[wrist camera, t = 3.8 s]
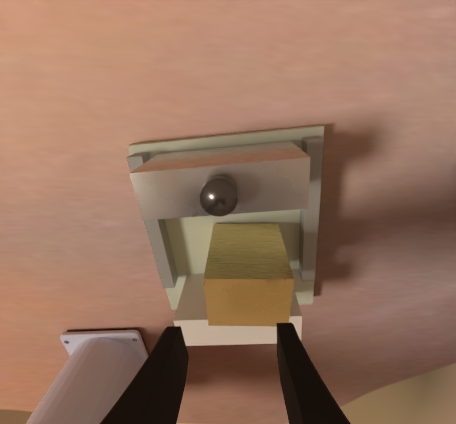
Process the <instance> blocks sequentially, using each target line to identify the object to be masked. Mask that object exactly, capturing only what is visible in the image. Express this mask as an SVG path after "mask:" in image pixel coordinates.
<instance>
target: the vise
mask: <svg viewBox="0 0 456 424" xmlns="http://www.w3.org/2000/svg"><path fill="white" fill-rule="evenodd" d="M285 141H291V142H292V143H294V144H295V145H296V146H297V147H299V148H300V149H301V150H302V151H303V152H305V153H306V154H307V155H308V156H310V179H309V201H308V209H296V210H282V211H268V212H254V213H240V214H228V215H226V216H221V217H218V216H199V217H185V218H171V219H157V220H144V222H145V225H146V229H147V232H148V236H149V240H150V243H151V247H152V250H153V254H154V258H155V261H156V265H157V268H158V272H159V276H160V279H161V283H162V286H163V288H166V290H167V294H168V298H169V301H170V305H171V309H172V310H176V309H177V310H176V313H175V316H174V320H173V322H174V326H181V329H182V333H183V337H184V341H185V345H186V346H203V345H239V344H275V343H277V327H270V326H208V317H207V308H206V299H205V290H204V281H203V278H204V273H205V267H206V262H207V257H208V251H209V246H210V241H211V236H212V230H213V225H214V224H242V223H278V224H279V228H280V232H281V235H282V239H283V242H284V246H285V249H286V253H287V256H288V260H289V263H290V267H291V270H292V274H293V277H294V284H293V292H292V301H291V309H290V318H289V323H292V324H294V327H295V329H296V332H297V334H298V336H299V338H300V340H301V331H302V314H301V311H300V307H299V304H313V294H314V281H315V271H316V255H317V240H318V225H319V210H320V195H321V179H322V164H323V149H324V126H322V125H315V126H305V127H295V128H285V129H274V130H264V131H254V132H244V133H234V134H224V135H214V136H204V137H194V138H184V139H174V140H164V141H154V142H144V143H134V144H130V145H128V146H127V147H128V151H129V154H130V156H129V157H127V161H128V164H129V168H130V171H131V172H132V171H134V170H135V169H137V168H138V167H140V166H141V165H143V164H144V163H146V162H147V161H149V160H150V159H151V158H153V157H154V156H156V155H157V154H159V153H169V152H180V151H190V150H201V149H211V148H222V147H232V146H243V145H253V144H264V143H274V142H285Z"/></svg>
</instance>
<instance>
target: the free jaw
mask: <svg viewBox="0 0 456 424" xmlns="http://www.w3.org/2000/svg"><path fill="white" fill-rule="evenodd" d="M129 174H130V177H131V181H132V185H133V188H134V192H135V195H136V199H137V202H138V206H139V209H140V213H141V217H142V220H143V221H144V220H157V219H171V218H185V217H199V216H218V217H221V216H226V215H228V214H240V213H254V212H268V211H282V210H296V209H308V201H309V179H310V156H308V155H307V154H306V153H305V152H303V151H302V150H301V149H300V148H299V147H297V146H296V145H295V144H294V143H292V142H291V141H285V142H274V143H264V144H253V145H243V146H232V147H222V148H211V149H201V150H190V151H180V152H169V153H159V154H157V155H156V156H154V157H153V158H151V159H150V160H149V161H147V162H146V163H144V164H143V165H141V166H140V167H138V168H137V169H135V170H134V171H132V172H131V173H129Z"/></svg>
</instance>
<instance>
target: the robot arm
mask: <svg viewBox="0 0 456 424" xmlns="http://www.w3.org/2000/svg"><path fill="white" fill-rule="evenodd" d="M276 324H277V357H278V365H279V373H280V381H281V386H282V391H283V395H284V400H285V405H286V410H287V414H288V419H289V424H350V422H349V421H348V419H347V418H346V416H345V415H344V414H343V412H342V410H341V409H340V407H339V406H338V404H337V403H336V401H335V400H334V398H333V397H332V395H331V393H330V392H329V390H328V389H327V387H326V385H325V384H324V382H323V381H322V379H321V377H320V375H319V374H318V372H317V370H316V369H315V367H314V365H313V363H312V362H311V360H310V358H309V356H308V354H307V352H306V350H305V348H304V347H303V345H302V343H301V340H300V338H299V336H298V334H297V332H296V329H295V327H294V324H292V323H276ZM60 339H61V341H62V343H63V344H64V346H65V348H66V350H67V351H68V353H69V355H70V357H69V359H68V360H67V362H66V363H65V365H64V366H63V368H62V369H61V371H60V372H59V374H58V375H57V377H56V379H55V380H54V382H53V383H52V385H51V386H50V388H49V389H48V391H47V392H46V394H45V395H44V397H43V398H42V400H41V401H40V403H39V404H38V406H37V407H36V409H35V410H34V412H33V413H32V415H31V416H30V418H29V420H28V421H27V423H26V424H176V422H177V418H178V413H179V409H180V405H181V400H182V396H183V391H184V387H185V381H186V374H187V366H188V358H189V356H188V352H187V348H186V345H185V341H184V337H183V333H182V329H181V326H174V327H167V328H166V329H165V330H164V332H163V333H162V335H161V337H160V338H159V340H158V342H157V343H156V345H155V346H154V348H153V350H152V351H151V353H150V354H149V356H148V354H147V351H146V348H145V346H144V343H143V340H142V337H141V335H140V333H139V331H137V330H112V331H83V332H63V333H62V334H61V336H60Z"/></svg>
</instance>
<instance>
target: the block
mask: <svg viewBox="0 0 456 424" xmlns="http://www.w3.org/2000/svg"><path fill="white" fill-rule="evenodd" d="M203 281H204V290H205V299H206V308H207V317H208V326H270V327H277V324H276V323H289V318H290V309H291V301H292V292H293V284H294V277H293V274H292V270H291V267H290V263H289V260H288V256H287V253H286V249H285V246H284V242H283V239H282V235H281V232H280V228H279V224H278V223H242V224H214V225H213V230H212V236H211V241H210V246H209V251H208V257H207V262H206V267H205V273H204V278H203Z"/></svg>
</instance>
